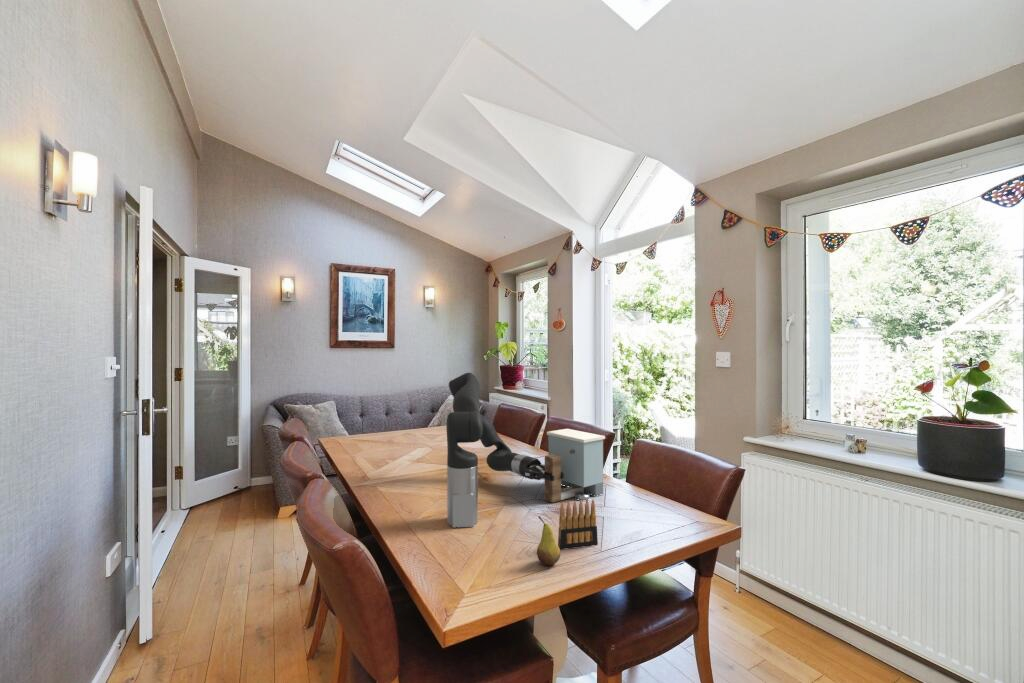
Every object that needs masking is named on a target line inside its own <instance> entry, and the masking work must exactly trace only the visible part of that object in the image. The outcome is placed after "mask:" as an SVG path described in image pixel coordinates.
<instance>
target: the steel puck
mask: <svg viewBox="0 0 1024 683" xmlns="http://www.w3.org/2000/svg"><path fill="white" fill-rule="evenodd" d="M590 496H591V495H590V494H589V493H586V492H577V493H575V496H574V499H575V498H576V499H579V500H588V499H589V498H590ZM576 499H575V500H576ZM590 499H591V498H590ZM579 500H578V501H579ZM588 501H589V500H588Z"/></svg>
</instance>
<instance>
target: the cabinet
mask: <svg viewBox="0 0 1024 683" xmlns="http://www.w3.org/2000/svg"><path fill="white" fill-rule="evenodd" d="M546 435H547V436H548V455H552V454H554V455H558V456H561V472H564V479H561V484H562V485H565V486H569V487H571V486H574V485H578V486H581V487H584V492H586V493H589V494H592V495H595V496H597V495H600V494H603V495H604V440H605V439H606V436H605V435H602V434H597V433H591V432H587V431H581V430H577V429H571V428H563V429H556V430H550V431H546ZM562 485H561V486H562ZM565 486H564V487H565ZM592 495H591V496H592ZM595 496H594V497H595ZM600 496H601V495H600ZM597 497H598V496H597Z"/></svg>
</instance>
